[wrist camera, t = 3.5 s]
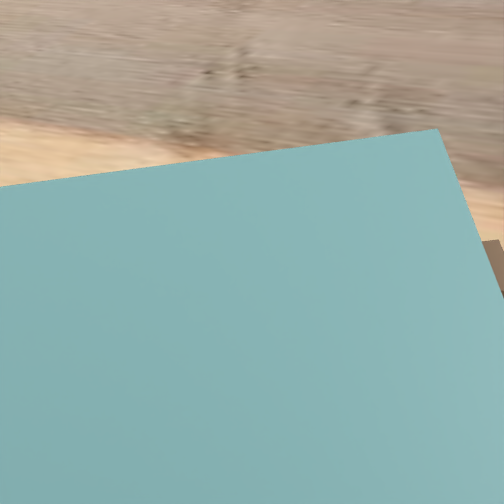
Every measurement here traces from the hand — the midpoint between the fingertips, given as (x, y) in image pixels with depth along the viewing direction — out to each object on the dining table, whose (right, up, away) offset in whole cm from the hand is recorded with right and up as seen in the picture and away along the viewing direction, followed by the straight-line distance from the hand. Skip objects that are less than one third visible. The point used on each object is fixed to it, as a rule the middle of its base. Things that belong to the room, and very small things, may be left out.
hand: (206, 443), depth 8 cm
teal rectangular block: (+1, -4, +7) cm, 8 cm away
